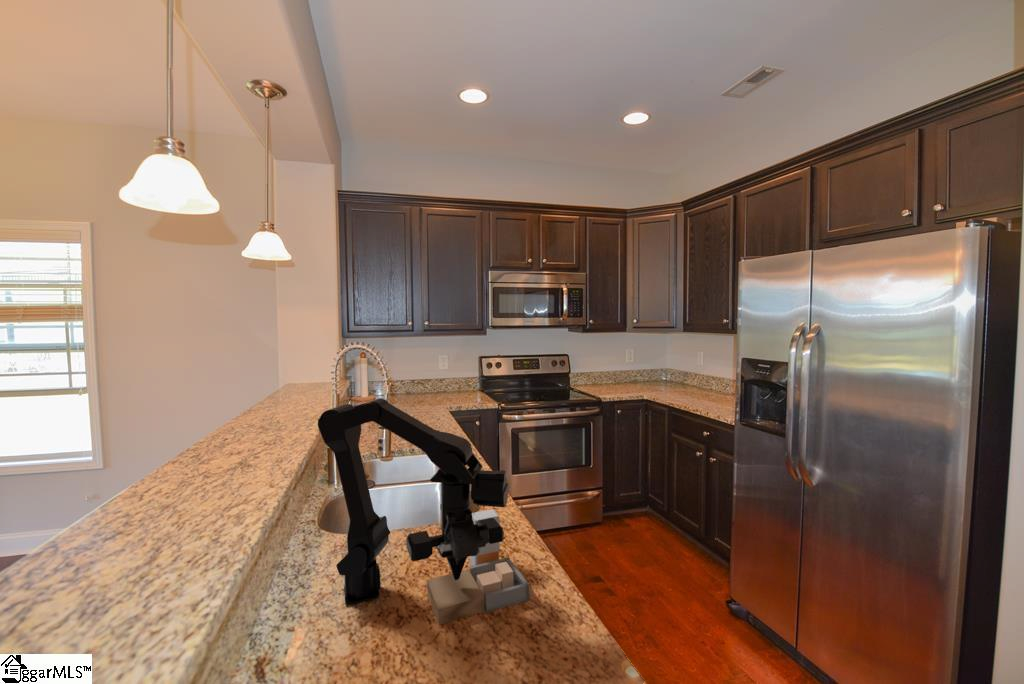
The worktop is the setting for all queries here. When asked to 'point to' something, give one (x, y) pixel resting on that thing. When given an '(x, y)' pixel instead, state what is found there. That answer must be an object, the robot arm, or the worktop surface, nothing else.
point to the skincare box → (489, 550)
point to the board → (454, 597)
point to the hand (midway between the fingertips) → (456, 578)
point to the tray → (505, 595)
